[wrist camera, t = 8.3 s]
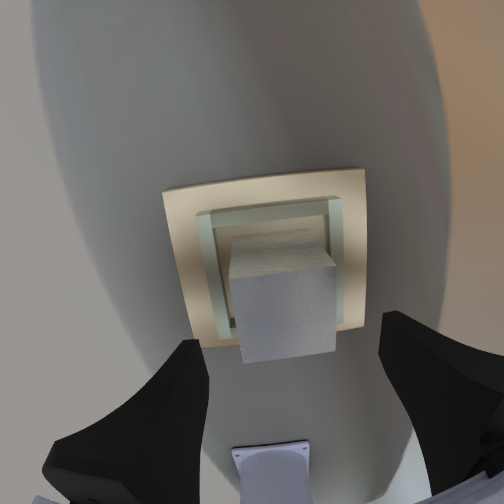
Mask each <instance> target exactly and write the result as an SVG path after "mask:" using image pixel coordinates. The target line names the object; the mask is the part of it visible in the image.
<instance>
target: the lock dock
mask: <svg viewBox="0 0 504 504" xmlns="http://www.w3.org/2000/svg"><path fill="white" fill-rule="evenodd" d="M162 194H163V200H164V206H165V211H166V216H167V222H168V227H169V232H170V237H171V242H172V247H173V251H174V256H175V261H176V265H177V270H178V274H179V279H180V283H181V287H182V292H183V296H184V300H185V304H186V308H187V312H188V316H189V320H190V324H191V328H192V332H193V335H194V339H199V342H200V346H201V348H210V347H222V346H233V345H240V344H239V339H238V333H237V327H236V322H235V316H234V310H233V304H232V298H231V292H230V286H229V280H228V278H229V268H230V259H231V250H232V240H233V237H235V236H244V235H252V234H260V233H268V232H277V231H285V230H294V229H303V228H309V229H310V231H311V232H312V233H313V235H314V236H315V237H316V239H317V240H318V241H319V243H320V244H321V245H322V247H323V248H324V249H325V251H326V252H327V254H328V255H329V256H330V258H331V259H332V260H333V262H334V263H335V264H336V270H337V310H336V331H342V330H348V329H353V328H358V327H364V315H365V298H366V271H367V212H366V186H365V169H362V168H358V167H356V168H341V169H327V170H315V171H304V172H293V173H283V174H274V175H265V176H256V177H248V178H240V179H233V180H225V181H218V182H211V183H205V184H198V185H192V186H185V187H179V188H173V189H167V190H165V191H164V192H162Z"/></svg>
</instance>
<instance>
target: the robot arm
mask: <svg viewBox="0 0 504 504" xmlns="http://www.w3.org/2000/svg"><path fill="white" fill-rule="evenodd" d="M378 354H379V357H380V360H381V362H382V365H383V368H384V370H385V373H386V375H387V376H388V378H389V380H390V382H391V384H392V386H393V387H394V389H395V391H396V393H397V395H398V396H399V398H400V400H401V402H402V404H403V405H404V407H405V409H406V411H407V413H408V415H409V417H410V419H411V422H412V424H413V427H414V430H415V432H416V435H417V438H418V441H419V444H420V447H421V450H422V454H423V457H424V461H425V465H426V469H427V473H428V477H429V482H430V488H431V494H432V497H430V498H428V499H425V500H423V501H420V502H418V503H415V504H504V356H501V355H497V354H492V353H488V352H485V351H482V350H478V349H475V348H473V347H470V346H467V345H464V344H462V343H459V342H457V341H455V340H453V339H450V338H448V337H446V336H444V335H442V334H440V333H438V332H436V331H434V330H432V329H430V328H429V327H427V326H425V325H423V324H421V323H419V322H418V321H416V320H414V319H412V318H410V317H409V316H407V315H405V314H403V313H401V312H399V311H391V312H387V313H383V317H382V326H381V335H380V343H379V351H378ZM208 400H209V375H208V372H207V368H206V365H205V361H204V357H203V354H202V350H201V346H200V342H199V339H191V340H183V341H182V342H181V343H180V345H179V346H178V347H177V348H176V349H175V351H174V352H173V353H172V354H171V356H170V357H169V358H168V359H167V361H166V362H165V363H164V364H163V365H162V367H161V368H160V369H159V370H158V371H157V372H156V374H155V375H154V376H153V377H152V378H151V379H150V380H149V381H148V382H147V383H146V384H145V385H144V386H143V387H142V388H141V389H140V390H139V391H138V392H137V393H136V394H135V395H134V396H132V397H131V398H130V399H129V400H128V401H126V402H125V403H124V404H123V405H121V406H120V407H119V408H117V409H116V410H114V411H113V412H111V413H110V414H108V415H107V416H106V417H104V418H103V419H101V420H99V421H97V422H96V423H94V424H92V425H91V426H89V427H87V428H85V429H83V430H81V431H79V432H76V433H74V434H72V435H69V436H67V437H65V438H62V439H60V440H57V441H55V442H54V444H53V446H52V448H51V450H50V452H49V455H48V457H47V459H46V461H45V463H44V465H43V468H42V473H43V475H44V477H45V478H46V480H47V481H48V482H49V483H50V484H51V485H52V486H53V487H54V488H55V489H56V490H58V491H59V492H60V493H61V494H62V495H63V496H64V497H66V498H67V499H68V500H69V501H70V504H200V496H199V491H200V490H199V488H200V487H199V486H200V484H199V483H200V481H199V480H200V478H199V476H200V452H201V443H202V437H203V431H204V425H205V419H206V413H207V407H208ZM232 456H233V459H234V461H235V464H236V467H237V470H238V473H239V475H240V501H241V502H240V503H241V504H313V501H312V495H311V489H310V483H309V442H308V441H301V442H294V443H287V444H279V445H270V446H260V447H248V448H235V449H232ZM32 504H59V503H57V502H54V501H51V500H48V499H46V498H43V497H40V496H35V497H34V500H33V502H32Z"/></svg>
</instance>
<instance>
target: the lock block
mask: <svg viewBox="0 0 504 504" xmlns="http://www.w3.org/2000/svg"><path fill="white" fill-rule="evenodd" d="M228 280H229V286H230V292H231V298H232V304H233V310H234V316H235V322H236V327H237V333H238V339H239V344H240V350H241V356H242V361H243V363H252V362H261V361H270V360H278V359H286V358H293V357H300V356H307V355H313V354H319V353H325V352H331V351H335V349H336V310H337V270H336V264H335V263H334V262H333V260H332V259H331V258H330V256H329V255H328V254H327V252H326V251H325V249H324V248H323V247H322V245H321V244H320V243H319V241H318V240H317V239H316V237H315V236H314V235H313V233H312V232H311V231H310V229H309V228H303V229H294V230H285V231H277V232H268V233H260V234H252V235H244V236H235V237H233V240H232V250H231V259H230V268H229V278H228Z"/></svg>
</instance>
